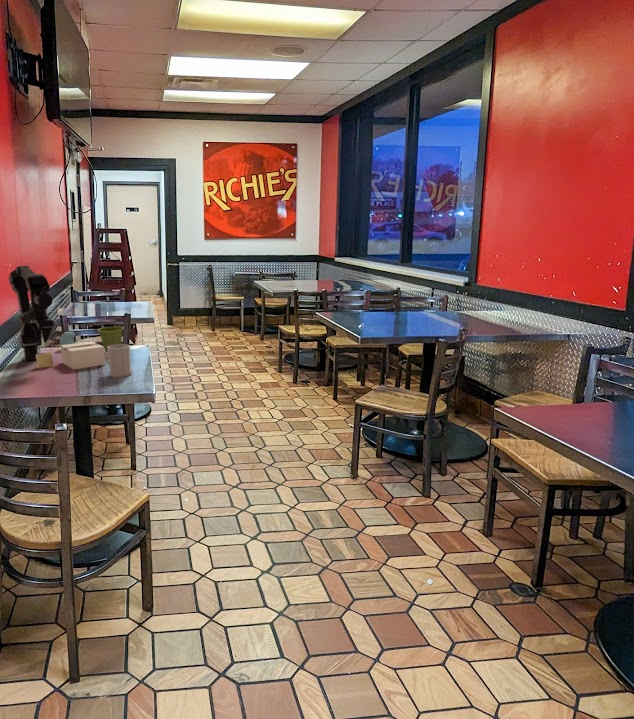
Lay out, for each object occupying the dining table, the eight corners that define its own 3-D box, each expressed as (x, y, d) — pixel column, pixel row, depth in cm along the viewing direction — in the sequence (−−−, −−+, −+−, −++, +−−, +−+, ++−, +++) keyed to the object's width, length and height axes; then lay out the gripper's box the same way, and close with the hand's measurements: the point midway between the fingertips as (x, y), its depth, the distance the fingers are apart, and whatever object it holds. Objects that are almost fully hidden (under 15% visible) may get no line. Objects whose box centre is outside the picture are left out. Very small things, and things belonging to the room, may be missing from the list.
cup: (104, 378, 257) (102, 349, 254) (105, 373, 265) (103, 345, 263) (131, 376, 260) (129, 347, 257) (132, 371, 268) (129, 343, 265)
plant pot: (102, 349, 313) (100, 327, 310) (127, 348, 314) (125, 326, 311) (97, 354, 301) (95, 331, 299) (123, 354, 302) (121, 330, 300)
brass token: (37, 367, 277) (35, 353, 276) (51, 365, 281) (50, 352, 280) (38, 368, 276) (36, 354, 274) (53, 366, 279) (51, 352, 278)
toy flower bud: (86, 332, 312) (60, 333, 307) (86, 350, 314) (60, 351, 309) (85, 330, 319) (59, 330, 314) (85, 348, 320) (59, 348, 316)
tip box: (62, 362, 285) (60, 345, 284) (93, 358, 293) (92, 341, 292) (72, 369, 273) (71, 351, 271) (105, 364, 281) (103, 346, 279)
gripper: (12, 303, 274) (16, 339, 277) (24, 309, 260) (28, 346, 263) (39, 301, 280) (42, 336, 284) (53, 306, 266) (56, 343, 270)
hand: (42, 340), depth 275 cm, fingers open, 9 cm apart
